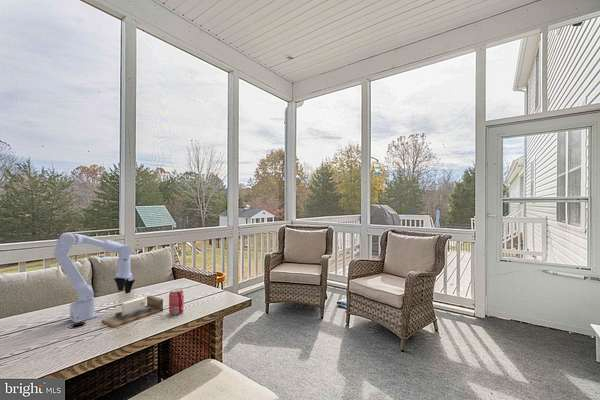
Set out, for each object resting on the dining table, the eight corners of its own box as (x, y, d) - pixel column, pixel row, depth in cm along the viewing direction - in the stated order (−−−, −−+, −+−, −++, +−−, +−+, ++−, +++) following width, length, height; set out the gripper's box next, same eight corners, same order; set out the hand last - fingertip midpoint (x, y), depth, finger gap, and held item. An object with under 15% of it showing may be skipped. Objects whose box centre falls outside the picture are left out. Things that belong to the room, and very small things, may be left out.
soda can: (180, 309, 151) (180, 287, 151) (185, 313, 146) (185, 290, 146) (167, 313, 146) (167, 290, 146) (172, 316, 141) (172, 293, 141)
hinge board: (113, 327, 129) (113, 314, 129) (101, 321, 135) (101, 309, 135) (162, 310, 149) (162, 299, 149) (150, 306, 155) (150, 295, 155)
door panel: (125, 318, 137) (125, 304, 137) (121, 316, 139) (121, 302, 139) (146, 311, 145) (146, 298, 145) (142, 310, 147) (142, 297, 147)
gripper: (138, 267, 151) (138, 292, 151) (125, 263, 159) (125, 287, 159) (125, 269, 145) (125, 295, 145) (111, 266, 153) (111, 291, 153)
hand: (124, 291), depth 151 cm, fingers open, 7 cm apart
